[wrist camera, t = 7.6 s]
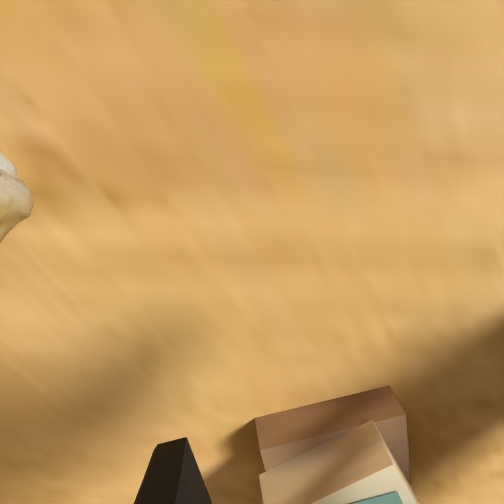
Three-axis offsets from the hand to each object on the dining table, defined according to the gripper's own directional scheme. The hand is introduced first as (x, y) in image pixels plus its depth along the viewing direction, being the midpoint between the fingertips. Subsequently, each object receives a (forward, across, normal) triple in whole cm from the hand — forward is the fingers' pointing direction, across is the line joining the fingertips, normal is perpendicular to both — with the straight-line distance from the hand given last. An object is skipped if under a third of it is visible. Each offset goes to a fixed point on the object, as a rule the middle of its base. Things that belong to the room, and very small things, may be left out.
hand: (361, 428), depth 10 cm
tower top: (+8, 0, +13) cm, 15 cm away
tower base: (+11, 0, +13) cm, 17 cm away
